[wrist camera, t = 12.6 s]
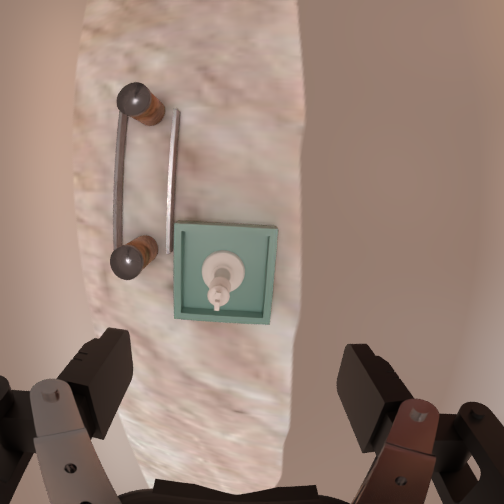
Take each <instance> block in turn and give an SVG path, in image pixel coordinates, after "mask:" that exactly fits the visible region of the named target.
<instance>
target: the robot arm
mask: <svg viewBox="0 0 504 504" xmlns="http://www.w3.org/2000/svg"><path fill="white" fill-rule="evenodd" d="M132 376H133V361H132V352H131V343H130V335H129V332H128V330H123V329H116V328H107V329H106V331H105V332H104V333H103V335H102V336H101V337H100V338H99V339H97V338H94V339H93V340H91V341H89V342H87V343H85V344H84V345H83V346H82V348H81V349H80V350H79V351H78V353H77V354H76V355H75V356H74V358H73V359H72V360H71V361H70V362H69V364H68V365H67V366H66V367H65V369H64V370H63V371H62V373H61V374H60V375H59V376H58V378H57V379H46V380H42V381H40V382H38V383H36V384H35V385H34V386H33V387H32V388H31V390H30V391H19V390H11V387H10V385H9V382H8V380H7V379H6V378H5V377H3V376H0V504H9V503H10V501H11V499H12V497H13V495H14V492H15V490H16V488H17V486H18V484H19V482H20V480H21V478H22V475H23V473H24V471H25V469H26V467H27V465H28V463H29V461H30V459H31V457H32V456H33V454H34V453H36V454H37V458H38V461H39V466H40V470H41V474H42V477H43V481H44V484H45V487H46V491H47V494H48V497H49V500H50V503H51V504H350V503H348V502H345V501H342V500H339V499H336V498H332V497H328V496H323V495H318V492H317V488H316V485H309V486H295V487H276V488H272V489H267V490H262V491H257V492H252V493H247V494H241V495H234V494H229V493H225V492H221V491H217V490H214V489H210V488H206V487H203V486H200V485H196V484H190V483H182V482H174V481H167V480H161V479H155V483H154V487H153V489H142V490H136V491H131V492H128V493H124V494H121V495H119V496H117V494H116V492H115V490H114V489H113V487H112V485H111V483H110V481H109V479H108V477H107V475H106V473H105V471H104V469H103V467H102V465H101V462H100V460H99V458H98V456H97V454H96V452H95V449H94V447H93V444H92V442H91V439H92V437H94V438H98V439H102V440H104V438H105V436H106V434H107V431H108V429H109V427H110V425H111V423H112V420H113V418H114V416H115V414H116V412H117V410H118V408H119V405H120V403H121V401H122V399H123V397H124V395H125V393H126V391H127V388H128V386H129V384H130V382H131V380H132ZM337 392H338V395H339V397H340V399H341V402H342V404H343V407H344V409H345V412H346V414H347V416H348V419H349V421H350V424H351V426H352V428H353V431H354V433H355V436H356V438H357V441H358V443H359V445H360V448H361V451H362V453H367V452H375V453H376V457H375V459H374V461H373V463H372V465H371V467H370V469H369V471H368V473H367V475H366V477H365V479H364V481H363V483H362V485H361V487H360V489H359V490H358V492H357V494H356V496H355V497H354V499H353V501H352V503H351V504H424V502H425V499H426V495H427V492H428V488H429V485H430V481H431V479H432V481H433V483H434V485H435V487H436V489H437V492H438V494H439V496H440V498H441V500H442V502H443V504H504V426H503V425H502V424H501V422H500V421H499V420H498V419H497V417H496V416H495V415H494V414H493V413H492V411H491V410H490V409H489V408H488V407H486V406H485V405H483V404H481V403H477V402H467V403H465V404H463V405H462V406H461V408H460V409H459V412H458V413H457V414H439V412H438V410H437V408H436V407H435V406H434V405H433V404H431V403H430V402H428V401H425V400H422V399H414V398H413V396H412V395H411V393H410V392H409V391H408V389H407V388H406V386H405V385H404V383H403V382H402V381H401V379H399V376H398V375H397V374H396V372H394V370H393V368H392V367H391V365H390V364H389V363H388V362H387V361H385V360H384V359H383V358H381V357H380V356H375V354H374V353H373V351H372V350H371V349H370V347H369V346H368V345H367V344H347V346H346V347H345V350H344V354H343V358H342V362H341V366H340V370H339V373H338V378H337ZM471 455H472V456H473V457H474V459H475V461H476V462H477V464H478V466H479V468H480V471H481V476H480V480H479V481H478V480H477V479H476V477H475V475H474V473H473V472H472V470H471V468H470V466H469V465H468V463H467V461H468V460H469V458H470V457H471Z"/></svg>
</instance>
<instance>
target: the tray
mask: <svg viewBox="0 0 504 504" xmlns="http://www.w3.org/2000/svg"><path fill="white" fill-rule="evenodd" d="M277 236H278V228H277V227H276V226H267V225H251V224H235V223H217V222H198V221H177V222H176V223H174V319H183V320H196V321H210V322H225V323H243V324H265V325H270V315H271V305H272V294H273V283H274V272H275V260H276V248H277ZM220 250H226V251H230V252H233V253H235V254H236V255H237V256H239V258H240V259H241V260H242V262H243V264H244V267H245V276H244V279H243V281H242V283H241V284H240V286H239V287H238V288H237V289H235V290H233V291H231V292H230V293H229V294H230V298H229V301H228V302H227V303H226V304H225V305H223V306H220V308H219V311H214V305H213V304H211V303H210V302H209V300H208V297H207V294H208V291H209V287H208V286H207V285H206V284H205V282H204V280H203V277H202V265H203V262H204V260H205V259H206V258H207V257H208V256H209V255H210V254H211V253H213V252H216V251H220Z"/></svg>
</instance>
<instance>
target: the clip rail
mask: <svg viewBox="0 0 504 504" xmlns="http://www.w3.org/2000/svg"><path fill="white" fill-rule="evenodd" d="M117 107H118V109H119V110H120V111H119V120H118V130H117V142H116V155H115V172H114V200H113V242H114V251H113V253H112V255H111V258H110V265H111V268H112V270H113V272H114V273H115V275H116V276H118V277H119V278H121V279H124V280H131V279H134V278H135V277H137V276H138V275H139V274H140V273H141V271H142V270H143V269H144V268H145V267H146V266H147V265H148V264H149V263H150V262H151V261H152V260H154V259H155V257H156V256H157V254H158V245H157V243H156V241H155V240H154V239H153V238H152V237H150V236H147V235H143V236H140V237H138V238H136V239H134V240H132V241H131V242H129V243H127V244H125V245H122V194H123V170H124V153H125V140H126V129H127V119H128V116H130V117H132V118H134V119H136V120H138V121H140V122H141V123H143V124H145V125H148V126H152V125H156V124H158V123H159V122H160V121H161V120H162V119H163V117H164V115H165V107H164V105H163V104H162V102H160V101H159V100H158V99H157V98H156V97H155V96H154V95H153V94H152V93H151V92H150V90H149V89H148V88H147V87H146V86H145V85H144V84H142V83H138V82H134V83H130V84H128V85H126V86H125V87H124V88H122V90H121V91H120V92H119V94H118V97H117ZM179 121H180V111H179V110H178V109H173V120H172V131H171V143H170V157H169V173H168V193H167V223H166V254H170V253H171V252H172V251H173V223H174V195H175V175H176V159H177V145H178V132H179Z"/></svg>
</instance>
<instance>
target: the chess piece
mask: <svg viewBox="0 0 504 504" xmlns="http://www.w3.org/2000/svg"><path fill="white" fill-rule="evenodd" d="M244 276H245V267H244V264H243V262H242V260H241V259H240V258H239V256H237V255H236V254H235V253H233V252H230V251H226V250H220V251H216V252H213V253H211V254H210V255H209V256H208V257H207V258H206V259H205V260H204V262H203V265H202V277H203V280H204V282H205V284H206V285H207V286H208V287H209V291H208V294H207V297H208V300H209V302H210V303H211V304H213V305H214V311H219V308H220V306H223V305H225V304H226V303H227V302H228V301H229V298H230V294H229V293H230V292H231V291H233V290H235V289H237V288H238V287H239V286H240V284H241V283H242V281H243V279H244Z"/></svg>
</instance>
